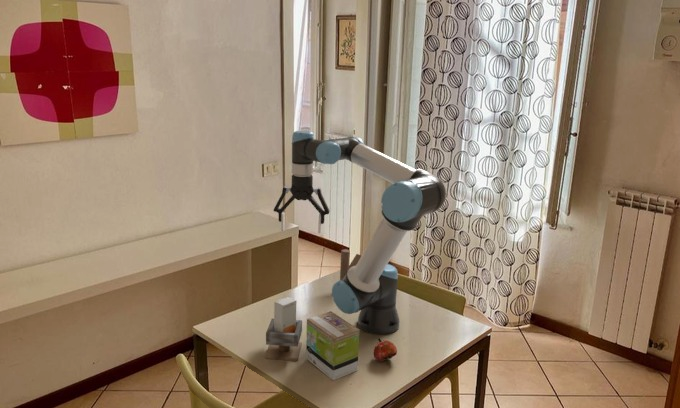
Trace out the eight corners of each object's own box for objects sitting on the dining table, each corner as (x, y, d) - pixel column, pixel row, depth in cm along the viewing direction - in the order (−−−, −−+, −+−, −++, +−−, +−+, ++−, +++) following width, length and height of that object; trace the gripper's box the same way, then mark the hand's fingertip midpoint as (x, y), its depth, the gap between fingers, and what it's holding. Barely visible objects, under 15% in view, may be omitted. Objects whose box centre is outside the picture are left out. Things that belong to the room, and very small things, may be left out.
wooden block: (361, 287, 234) (363, 247, 229) (343, 294, 226) (345, 252, 222) (355, 284, 236) (357, 244, 232) (337, 291, 229) (338, 250, 224)
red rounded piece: (399, 368, 178) (389, 340, 183) (403, 360, 172) (393, 331, 177) (377, 373, 176) (368, 344, 181) (381, 365, 170) (371, 335, 176)
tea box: (304, 359, 177) (305, 317, 173) (329, 350, 183) (331, 309, 179) (332, 381, 166) (334, 337, 162) (358, 371, 171) (360, 328, 168)
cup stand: (301, 344, 186) (302, 320, 184) (297, 360, 176) (297, 335, 174) (271, 342, 186) (271, 318, 184) (265, 358, 177) (265, 333, 174)
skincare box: (282, 340, 176) (282, 305, 173) (273, 335, 179) (273, 301, 176) (296, 333, 181) (296, 300, 178) (287, 329, 184) (288, 296, 180)
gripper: (337, 173, 200) (335, 229, 206) (269, 170, 202) (269, 226, 207) (336, 178, 193) (334, 235, 199) (265, 175, 194) (265, 232, 200)
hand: (301, 231), depth 203 cm, fingers open, 13 cm apart
